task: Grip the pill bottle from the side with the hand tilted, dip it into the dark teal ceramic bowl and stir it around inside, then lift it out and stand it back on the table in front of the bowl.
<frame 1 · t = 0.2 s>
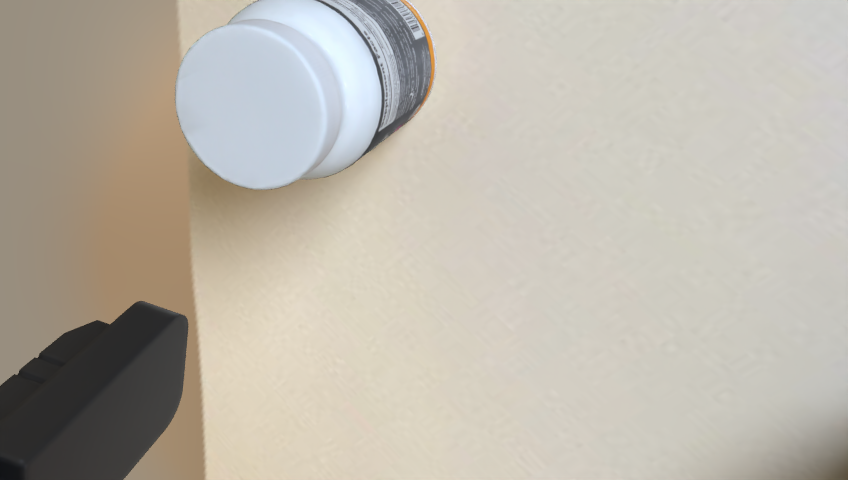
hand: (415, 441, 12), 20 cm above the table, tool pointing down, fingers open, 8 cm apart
pill bottle: (372, 55, 31), on the table
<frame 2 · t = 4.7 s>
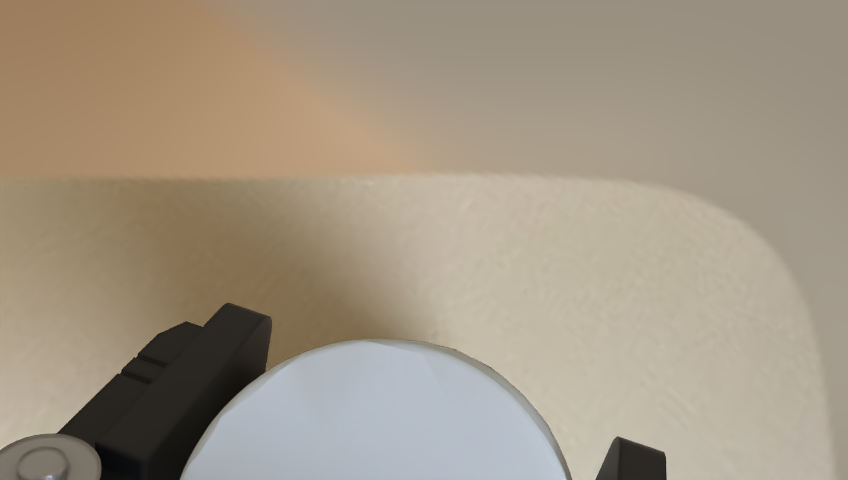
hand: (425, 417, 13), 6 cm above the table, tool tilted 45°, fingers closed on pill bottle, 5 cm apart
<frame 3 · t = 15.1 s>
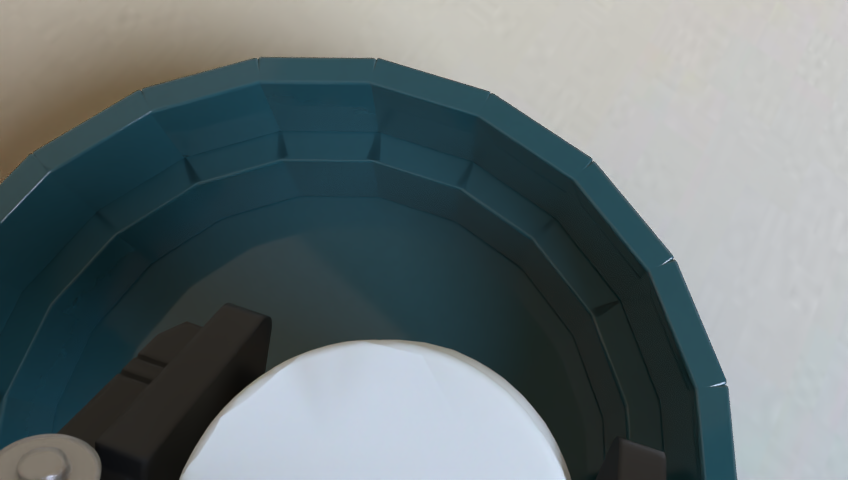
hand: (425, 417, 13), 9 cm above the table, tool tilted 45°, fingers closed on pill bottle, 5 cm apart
bowl: (329, 458, 21), on the table
when the fingers open (6 cm above the table, at t = 25.6 s): pill bottle stays where it is, on the table.
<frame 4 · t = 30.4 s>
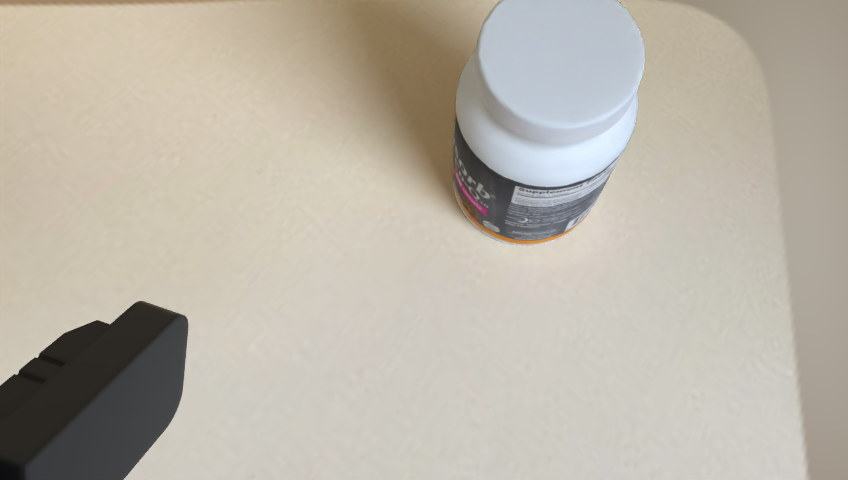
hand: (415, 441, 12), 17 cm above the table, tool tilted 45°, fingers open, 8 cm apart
pill bottle: (524, 184, 31), on the table
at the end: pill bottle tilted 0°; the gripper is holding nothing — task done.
